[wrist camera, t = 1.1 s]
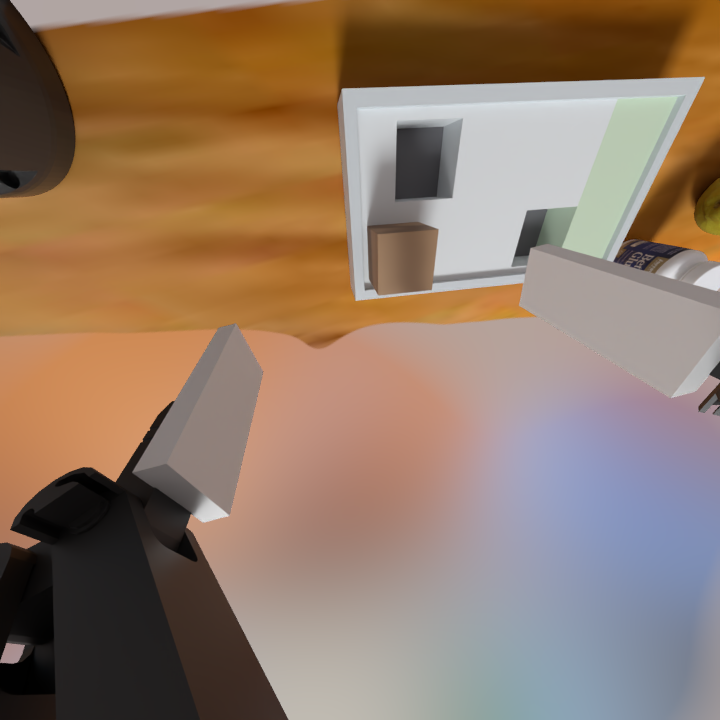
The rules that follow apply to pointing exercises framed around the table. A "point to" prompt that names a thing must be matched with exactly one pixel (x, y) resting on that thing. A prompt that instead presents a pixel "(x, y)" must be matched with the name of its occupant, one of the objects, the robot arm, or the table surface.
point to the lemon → (709, 209)
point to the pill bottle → (670, 262)
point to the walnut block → (401, 257)
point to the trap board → (504, 169)
